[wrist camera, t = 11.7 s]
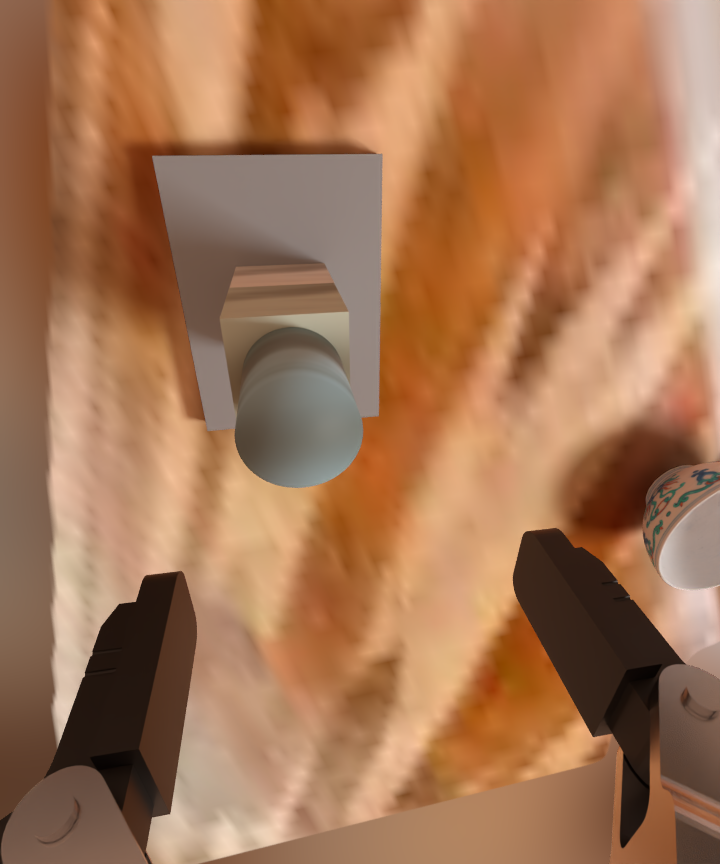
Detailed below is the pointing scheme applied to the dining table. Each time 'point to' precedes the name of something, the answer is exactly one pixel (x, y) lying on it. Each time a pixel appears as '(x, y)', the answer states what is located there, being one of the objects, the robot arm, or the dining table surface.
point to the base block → (280, 275)
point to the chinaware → (685, 526)
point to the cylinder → (296, 410)
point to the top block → (281, 320)
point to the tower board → (273, 248)
